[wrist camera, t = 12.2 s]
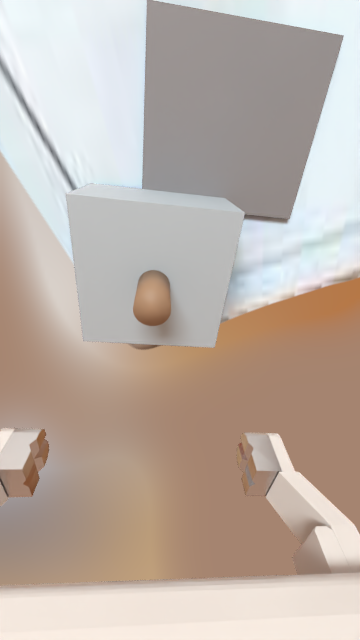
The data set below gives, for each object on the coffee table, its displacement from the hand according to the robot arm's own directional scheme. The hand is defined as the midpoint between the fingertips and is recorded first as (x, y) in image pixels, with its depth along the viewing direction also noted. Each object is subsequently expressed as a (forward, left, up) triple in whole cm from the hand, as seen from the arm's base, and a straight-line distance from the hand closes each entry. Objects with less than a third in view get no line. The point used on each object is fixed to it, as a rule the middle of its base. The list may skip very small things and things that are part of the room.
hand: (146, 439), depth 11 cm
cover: (0, 0, -26) cm, 26 cm away
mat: (-7, -14, -27) cm, 31 cm away
